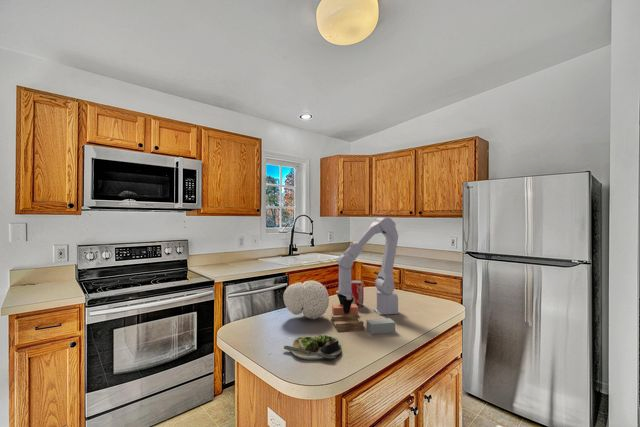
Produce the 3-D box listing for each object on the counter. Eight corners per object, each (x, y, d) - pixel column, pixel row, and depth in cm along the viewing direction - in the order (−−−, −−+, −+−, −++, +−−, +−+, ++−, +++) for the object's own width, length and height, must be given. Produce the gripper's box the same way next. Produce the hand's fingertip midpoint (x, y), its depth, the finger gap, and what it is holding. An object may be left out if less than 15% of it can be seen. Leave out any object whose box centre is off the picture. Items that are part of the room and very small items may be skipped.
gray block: (390, 327, 122) (390, 318, 122) (395, 332, 117) (395, 322, 117) (366, 329, 120) (366, 319, 120) (370, 334, 116) (370, 324, 116)
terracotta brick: (355, 312, 141) (355, 303, 141) (358, 316, 136) (358, 307, 136) (332, 313, 140) (332, 304, 140) (333, 317, 135) (333, 308, 135)
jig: (355, 319, 132) (355, 313, 132) (364, 329, 120) (364, 323, 120) (331, 320, 130) (331, 314, 130) (337, 331, 118) (337, 325, 118)
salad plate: (280, 364, 93) (280, 349, 93) (286, 340, 111) (286, 327, 111) (343, 364, 93) (343, 349, 93) (339, 339, 111) (338, 327, 111)
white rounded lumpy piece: (323, 310, 143) (323, 276, 143) (334, 324, 126) (334, 284, 126) (281, 314, 138) (281, 278, 138) (287, 328, 121) (287, 287, 121)
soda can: (354, 308, 147) (354, 283, 147) (346, 304, 153) (346, 280, 153) (366, 306, 150) (366, 282, 150) (358, 302, 156) (358, 279, 156)
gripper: (333, 278, 144) (333, 306, 145) (340, 285, 130) (340, 317, 130) (347, 277, 146) (347, 305, 146) (356, 284, 131) (356, 316, 131)
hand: (345, 311), depth 138 cm, fingers closed on terracotta brick, 5 cm apart
